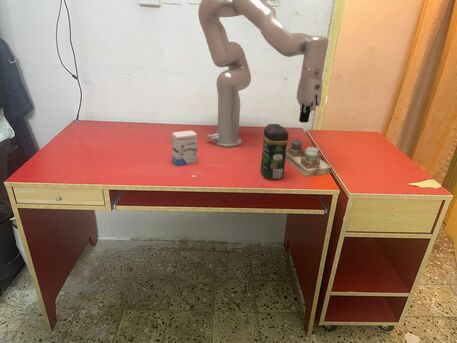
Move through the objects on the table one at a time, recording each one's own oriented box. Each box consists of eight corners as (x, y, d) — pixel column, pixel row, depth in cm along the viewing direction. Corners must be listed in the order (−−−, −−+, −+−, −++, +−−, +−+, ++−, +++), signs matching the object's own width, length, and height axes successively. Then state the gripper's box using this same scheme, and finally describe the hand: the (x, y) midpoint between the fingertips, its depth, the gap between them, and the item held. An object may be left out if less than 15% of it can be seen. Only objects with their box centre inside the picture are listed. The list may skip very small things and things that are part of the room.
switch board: (305, 176, 125) (307, 164, 123) (282, 157, 141) (283, 145, 138) (331, 173, 129) (333, 161, 127) (306, 154, 144) (307, 143, 142)
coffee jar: (257, 169, 129) (262, 122, 121) (278, 168, 131) (283, 122, 123) (264, 181, 121) (269, 131, 113) (285, 180, 122) (292, 131, 114)
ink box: (176, 166, 129) (175, 136, 123) (172, 161, 133) (171, 132, 127) (197, 162, 132) (197, 134, 127) (192, 157, 136) (192, 129, 131)
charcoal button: (293, 154, 135) (294, 144, 133) (288, 149, 138) (289, 140, 136) (303, 153, 136) (304, 143, 134) (297, 148, 140) (299, 139, 138)
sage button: (308, 165, 125) (309, 155, 123) (301, 160, 129) (303, 150, 127) (318, 164, 127) (320, 154, 125) (312, 159, 130) (313, 149, 129)
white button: (309, 161, 132) (310, 151, 130) (303, 156, 135) (304, 147, 134) (319, 160, 133) (320, 150, 131) (313, 155, 137) (314, 146, 135)
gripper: (332, 77, 117) (322, 127, 126) (310, 68, 130) (302, 115, 138) (313, 77, 115) (304, 129, 123) (292, 68, 127) (285, 116, 136)
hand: (303, 121), depth 131 cm, fingers closed
